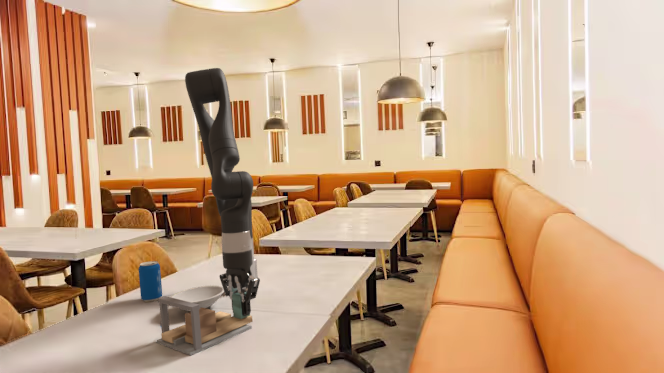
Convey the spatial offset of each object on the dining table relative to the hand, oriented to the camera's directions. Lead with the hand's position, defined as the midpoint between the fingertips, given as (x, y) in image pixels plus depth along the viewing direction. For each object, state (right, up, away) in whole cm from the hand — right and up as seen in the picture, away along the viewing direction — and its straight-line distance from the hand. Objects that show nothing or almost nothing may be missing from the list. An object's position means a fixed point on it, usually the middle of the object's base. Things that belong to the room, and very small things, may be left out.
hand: (241, 313), depth 113 cm
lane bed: (-8, -4, -5) cm, 10 cm away
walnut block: (-8, -2, -10) cm, 13 cm away
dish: (-16, -4, +15) cm, 22 cm away
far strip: (-13, -4, -7) cm, 15 cm away
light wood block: (-7, -4, +1) cm, 8 cm away
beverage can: (-35, -4, +28) cm, 45 cm away
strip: (-4, -4, -5) cm, 8 cm away
